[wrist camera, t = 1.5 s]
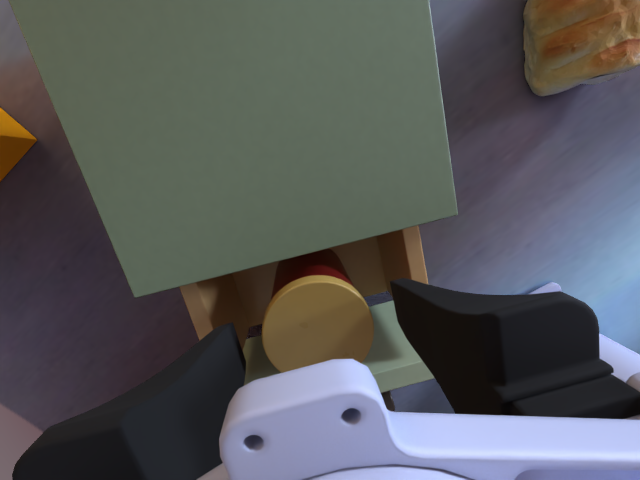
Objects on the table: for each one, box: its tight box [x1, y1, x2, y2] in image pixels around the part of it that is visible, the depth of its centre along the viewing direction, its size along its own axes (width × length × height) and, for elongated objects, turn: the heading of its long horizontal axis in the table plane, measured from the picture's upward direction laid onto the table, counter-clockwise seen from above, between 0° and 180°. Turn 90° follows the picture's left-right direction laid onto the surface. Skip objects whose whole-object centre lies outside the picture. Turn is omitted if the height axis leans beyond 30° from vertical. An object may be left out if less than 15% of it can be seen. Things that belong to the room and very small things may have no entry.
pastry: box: [523, 0, 640, 96], centre depth 17 cm, size 9×7×4 cm
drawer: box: [179, 225, 435, 412], centre depth 17 cm, size 16×12×7 cm
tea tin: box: [261, 248, 374, 373], centre depth 16 cm, size 5×5×7 cm
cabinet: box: [9, 0, 458, 298], centre depth 15 cm, size 14×14×9 cm
